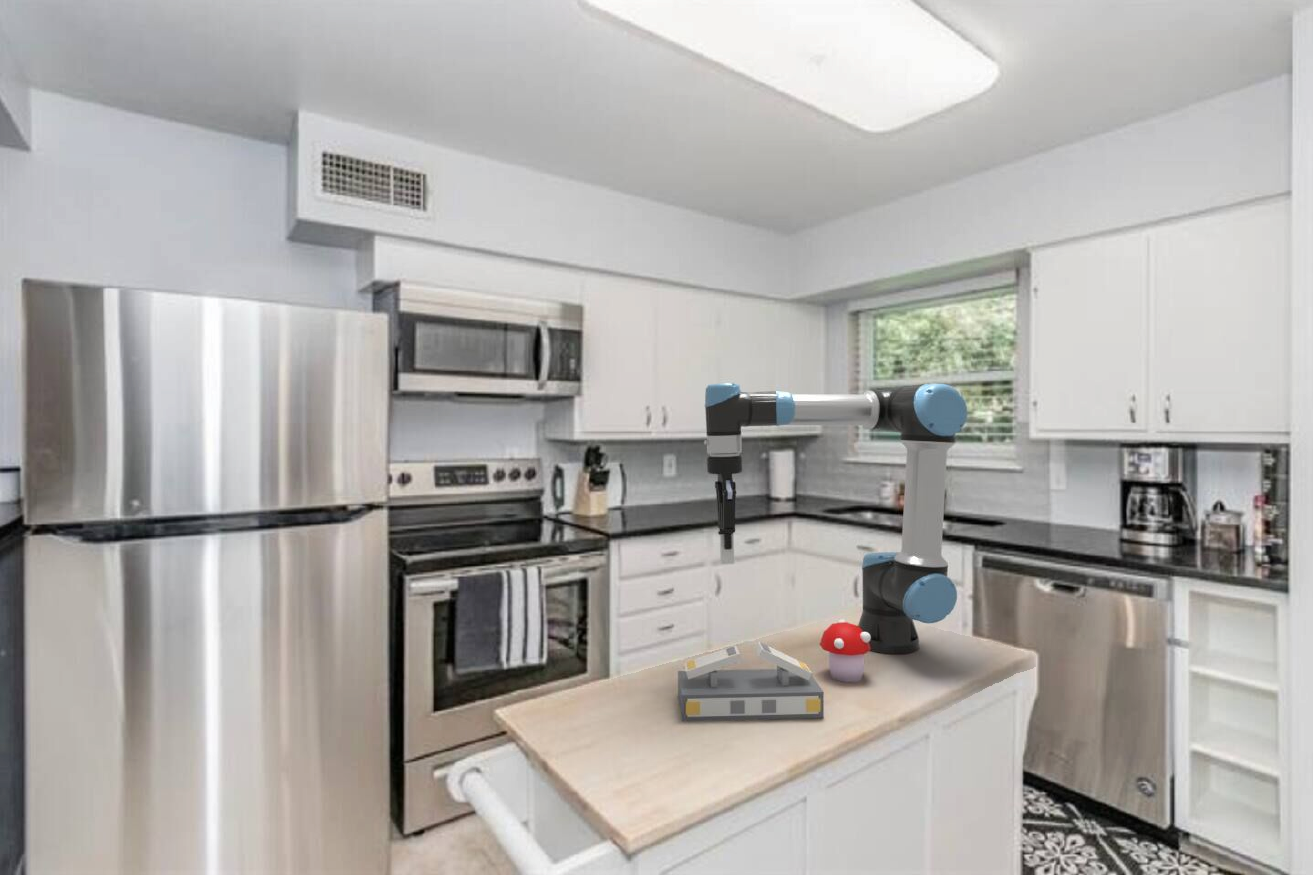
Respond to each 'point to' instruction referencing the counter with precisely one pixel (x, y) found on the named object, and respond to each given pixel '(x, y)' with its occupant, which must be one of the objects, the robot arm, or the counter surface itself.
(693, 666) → the rocker
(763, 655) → the rocker
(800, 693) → the switch unit
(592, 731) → the counter surface
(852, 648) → the mushroom
